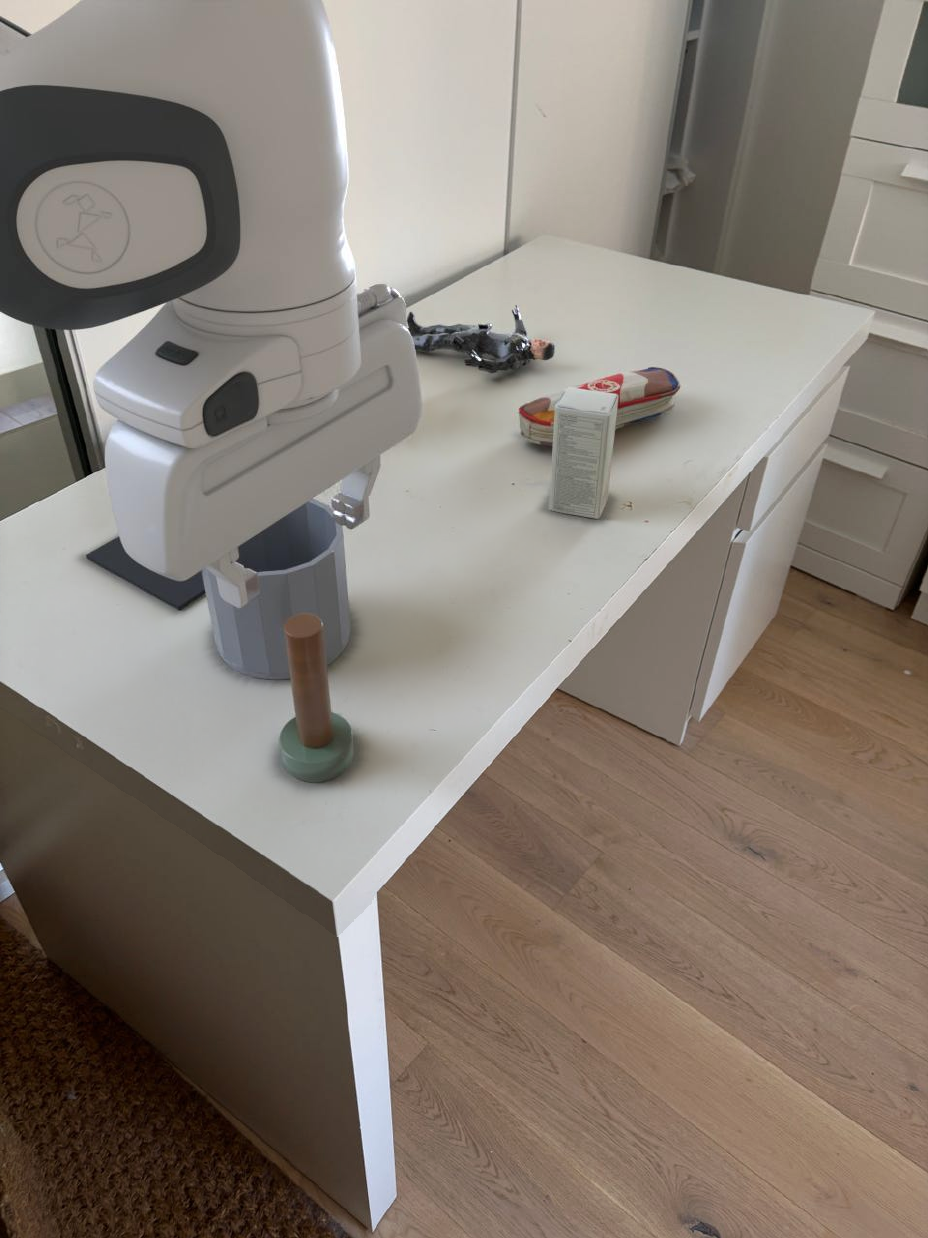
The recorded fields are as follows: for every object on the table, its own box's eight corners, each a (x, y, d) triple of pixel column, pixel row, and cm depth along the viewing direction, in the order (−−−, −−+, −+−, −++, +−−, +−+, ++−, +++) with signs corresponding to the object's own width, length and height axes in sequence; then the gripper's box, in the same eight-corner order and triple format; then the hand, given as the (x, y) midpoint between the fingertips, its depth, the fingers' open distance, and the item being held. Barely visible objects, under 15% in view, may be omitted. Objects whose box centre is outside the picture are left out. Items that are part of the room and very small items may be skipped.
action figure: (428, 292, 125) (576, 310, 119) (429, 323, 128) (574, 343, 121) (369, 340, 113) (530, 363, 107) (372, 373, 116) (529, 398, 109)
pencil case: (498, 416, 107) (499, 374, 103) (654, 390, 112) (660, 349, 109) (538, 465, 99) (542, 421, 95) (704, 435, 104) (713, 392, 101)
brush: (320, 794, 65) (305, 662, 57) (267, 760, 67) (245, 630, 60) (368, 750, 68) (360, 619, 61) (316, 719, 70) (301, 590, 63)
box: (608, 497, 94) (622, 393, 87) (598, 521, 91) (612, 415, 84) (556, 487, 95) (566, 384, 88) (545, 510, 92) (554, 404, 85)
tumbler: (285, 699, 72) (271, 594, 66) (188, 643, 77) (166, 539, 70) (377, 626, 79) (371, 524, 72) (282, 578, 83) (269, 478, 77)
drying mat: (179, 610, 80) (178, 606, 80) (86, 558, 85) (85, 554, 85) (326, 514, 91) (326, 510, 91) (236, 473, 96) (235, 470, 96)
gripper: (358, 260, 56) (371, 467, 65) (60, 391, 43) (127, 626, 52) (446, 285, 53) (447, 497, 62) (154, 433, 40) (208, 674, 49)
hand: (299, 558), depth 57 cm, fingers open, 8 cm apart
